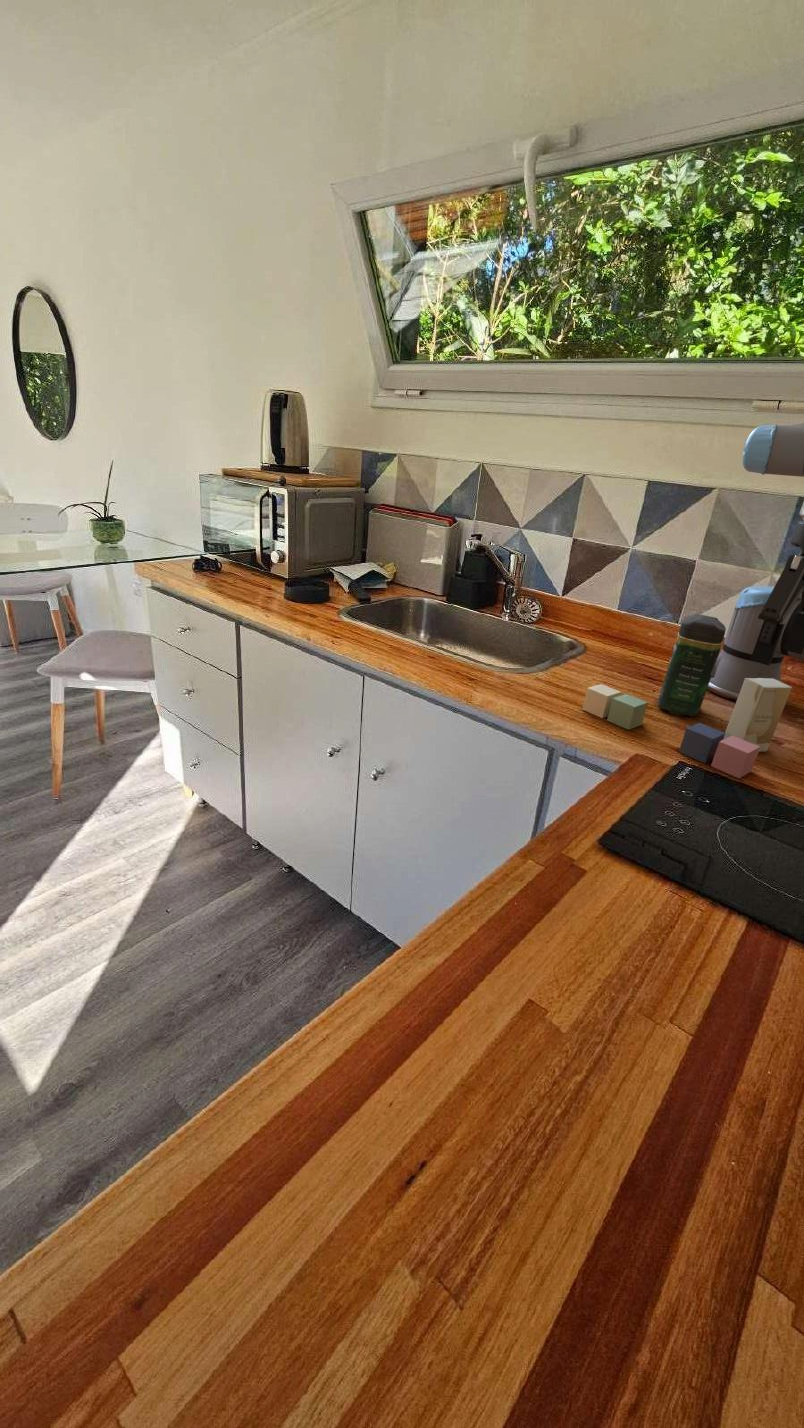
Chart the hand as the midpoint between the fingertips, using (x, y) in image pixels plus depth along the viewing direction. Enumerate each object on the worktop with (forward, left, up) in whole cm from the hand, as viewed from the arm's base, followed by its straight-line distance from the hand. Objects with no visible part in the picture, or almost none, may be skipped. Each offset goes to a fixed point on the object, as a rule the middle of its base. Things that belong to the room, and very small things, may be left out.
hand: (777, 657), depth 97 cm
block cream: (+11, -23, -17) cm, 30 cm away
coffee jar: (-6, -16, -17) cm, 24 cm away
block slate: (+11, -3, -17) cm, 20 cm away
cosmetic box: (0, 0, -17) cm, 17 cm away
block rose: (+11, +2, -17) cm, 20 cm away
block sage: (+11, -17, -17) cm, 26 cm away
